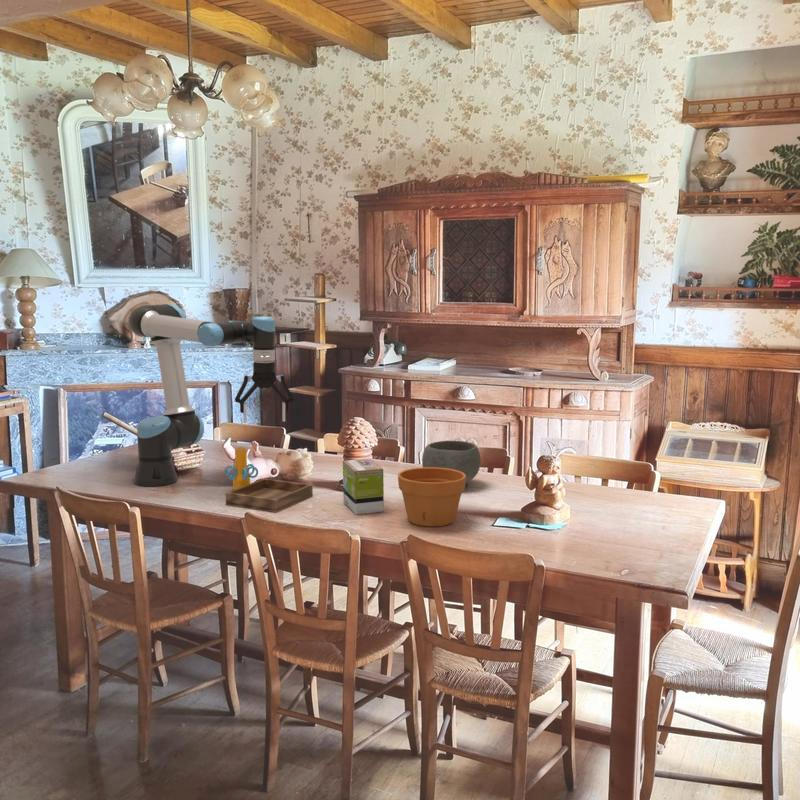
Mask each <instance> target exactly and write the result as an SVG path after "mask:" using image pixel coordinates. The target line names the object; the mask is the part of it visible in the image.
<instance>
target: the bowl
mask: <svg viewBox="0 0 800 800" xmlns="http://www.w3.org/2000/svg"><path fill="white" fill-rule="evenodd" d="M481 458H482V457H481V454H480V451H479V448H478V446H477V445H476V443H473V442H469V441H465V440H464V441H463V440H441V441H434V442H430V443H429V444H427V445H426V446H425V448H424V450H423V453H422V458H421V462H422V463H421V465H422V468H424V467H437V468H448V469H454V470H458V471H461V472H463V473H464V474H465V475H466V481H465V485H466V484H468V483H470V482H471V481H472V480H474V478H475V477H477V475H478V473H479V470H480V467H481V462H482V461H481Z"/></svg>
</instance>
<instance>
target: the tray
mask: <svg viewBox="0 0 800 800" xmlns="http://www.w3.org/2000/svg"><path fill="white" fill-rule="evenodd" d="M313 487H314V486H313V484H309V483H308V484H307V483H301V482H293V481H287V480H281V479H280V480H279V479H272V478H266V477H264V478H262V479H259V480H256V481H254V482H250V484H248V485H246V486H243V487H240V488H238V489H235V490H233V489H232V490H231V491H228V492H225V505H226V506H233V507H238V508H244V509H245V508H246V509H253V510H259V511H264V512H270V513H278V512H280V511H283V510H284V509H287V508H289V507H291V506H293V505H296V504H298V503H300V502H303V501H305V500H307V499H310V498H312V497H314V494H313V492H314V491H313V490H314V489H313Z"/></svg>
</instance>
